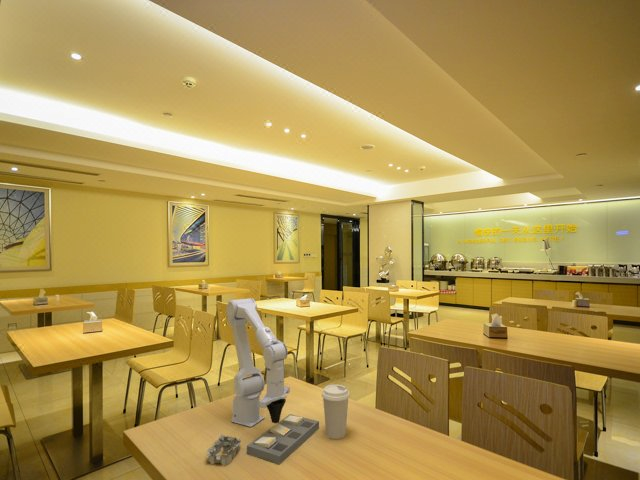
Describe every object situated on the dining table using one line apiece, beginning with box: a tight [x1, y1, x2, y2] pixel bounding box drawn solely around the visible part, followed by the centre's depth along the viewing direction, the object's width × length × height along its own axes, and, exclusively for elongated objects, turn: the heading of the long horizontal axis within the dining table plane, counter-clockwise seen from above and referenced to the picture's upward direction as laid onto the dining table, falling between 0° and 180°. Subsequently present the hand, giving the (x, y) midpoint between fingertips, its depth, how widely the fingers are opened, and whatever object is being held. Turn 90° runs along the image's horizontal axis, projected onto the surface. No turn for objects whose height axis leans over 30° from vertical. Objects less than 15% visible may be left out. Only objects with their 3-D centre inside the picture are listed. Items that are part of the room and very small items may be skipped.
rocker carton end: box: [255, 437, 276, 448], centre depth 109 cm, size 5×4×1 cm
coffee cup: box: [321, 384, 351, 440], centre depth 118 cm, size 10×10×15 cm
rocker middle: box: [269, 422, 290, 437], centre depth 116 cm, size 5×4×1 cm
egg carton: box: [206, 434, 242, 467], centre depth 106 cm, size 11×8×4 cm
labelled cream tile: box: [284, 415, 303, 426], centre depth 123 cm, size 5×4×1 cm
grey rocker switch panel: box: [246, 413, 320, 465], centre depth 115 cm, size 12×24×2 cm, turn 152°
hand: (275, 422), depth 117 cm, fingers closed
